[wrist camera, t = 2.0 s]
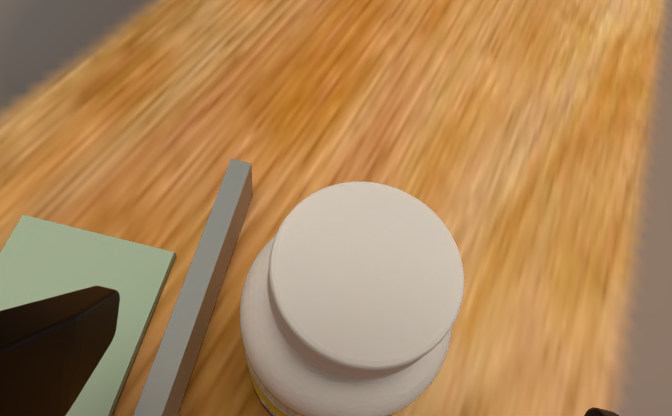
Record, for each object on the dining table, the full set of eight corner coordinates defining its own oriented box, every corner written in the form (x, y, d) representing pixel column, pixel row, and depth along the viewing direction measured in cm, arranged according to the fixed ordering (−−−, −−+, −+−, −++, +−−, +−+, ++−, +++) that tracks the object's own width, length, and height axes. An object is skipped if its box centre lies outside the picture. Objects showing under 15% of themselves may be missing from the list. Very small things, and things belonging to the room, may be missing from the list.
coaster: (98, 448, 16) (94, 447, 16) (-82, 405, 16) (-90, 404, 15) (175, 255, 19) (174, 252, 19) (27, 219, 19) (22, 214, 19)
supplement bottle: (365, 274, 20) (443, 135, 11) (411, 411, 18) (551, 366, 9) (234, 307, 19) (209, 176, 10) (265, 458, 16) (269, 459, 8)
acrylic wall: (143, 515, 15) (123, 525, 13) (118, 510, 15) (93, 518, 13) (252, 194, 21) (251, 163, 19) (234, 190, 21) (231, 158, 19)
